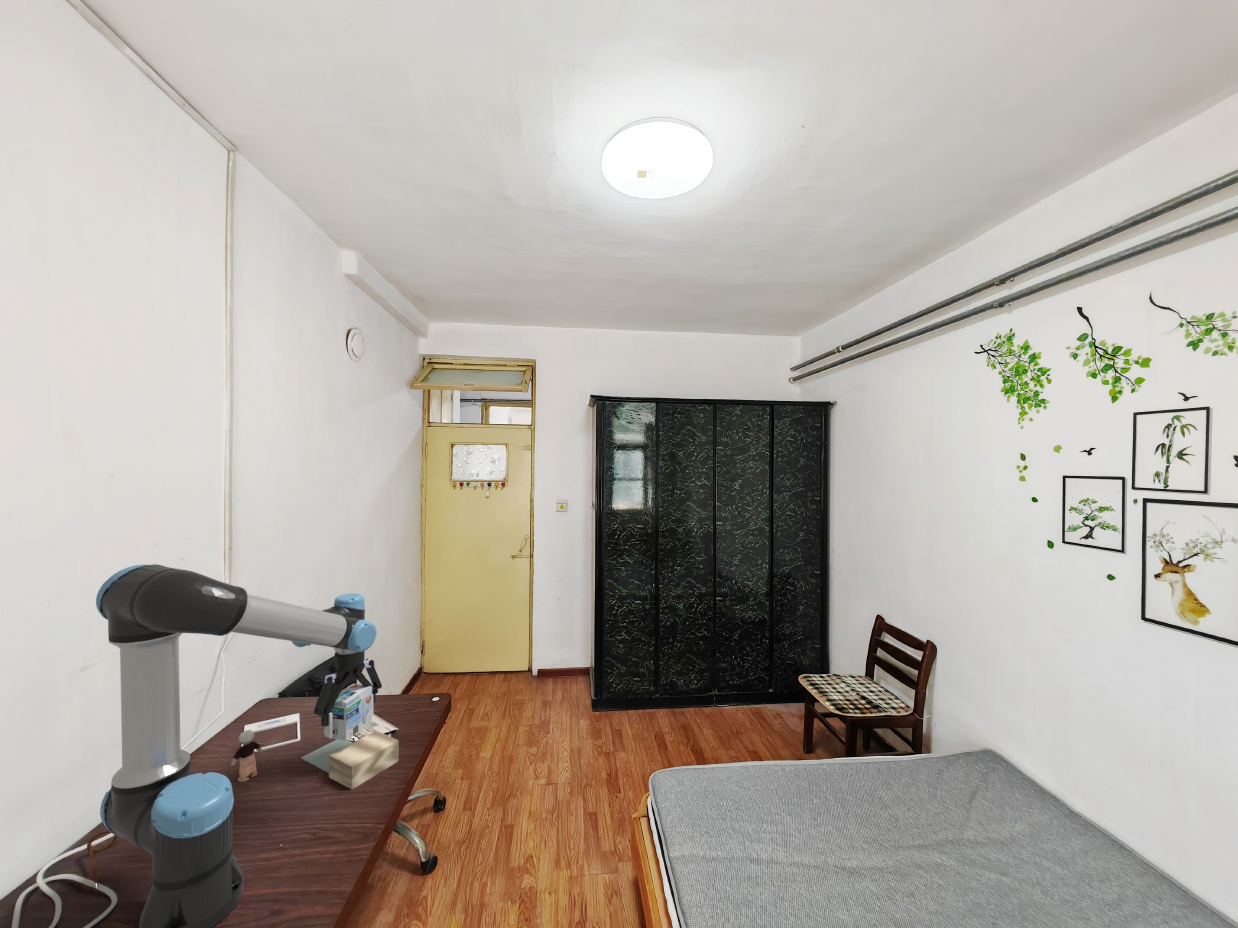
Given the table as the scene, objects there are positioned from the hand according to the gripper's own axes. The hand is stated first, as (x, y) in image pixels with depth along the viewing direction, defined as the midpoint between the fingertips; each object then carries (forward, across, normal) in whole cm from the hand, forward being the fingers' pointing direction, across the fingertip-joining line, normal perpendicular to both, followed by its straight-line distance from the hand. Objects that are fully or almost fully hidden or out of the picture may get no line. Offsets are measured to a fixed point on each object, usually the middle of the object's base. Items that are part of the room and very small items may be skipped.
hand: (349, 725), depth 142 cm
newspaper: (+11, +13, +13) cm, 21 cm away
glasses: (+11, -43, +10) cm, 45 cm away
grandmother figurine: (+10, -18, +17) cm, 27 cm away
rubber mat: (+10, 0, +6) cm, 12 cm away
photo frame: (+11, -3, +34) cm, 36 cm away
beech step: (+10, 0, -7) cm, 12 cm away
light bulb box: (+1, 0, 0) cm, 1 cm away
